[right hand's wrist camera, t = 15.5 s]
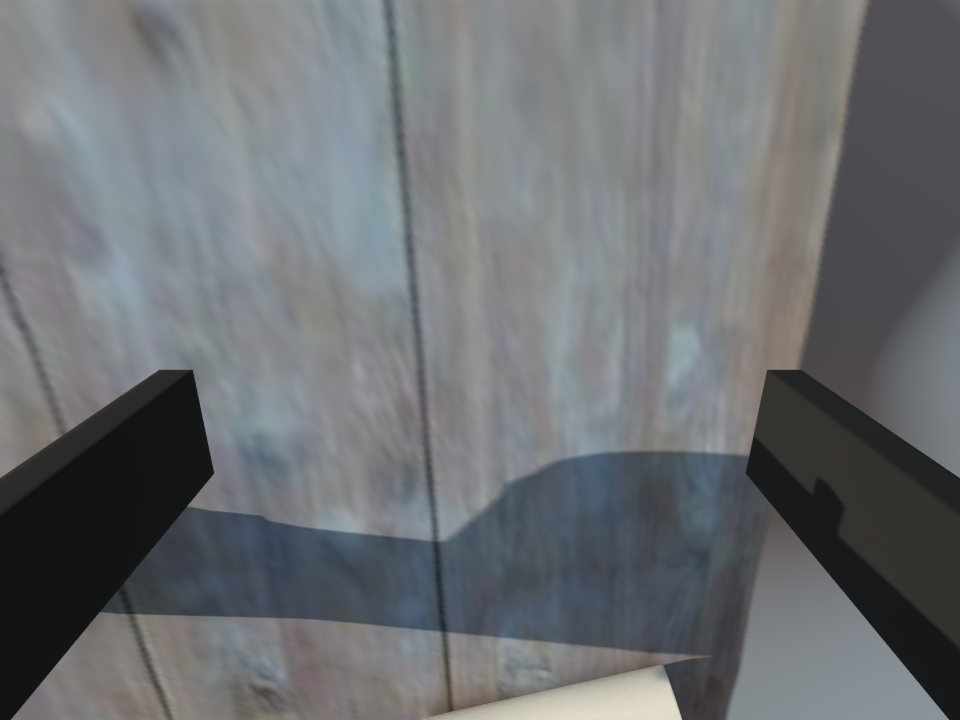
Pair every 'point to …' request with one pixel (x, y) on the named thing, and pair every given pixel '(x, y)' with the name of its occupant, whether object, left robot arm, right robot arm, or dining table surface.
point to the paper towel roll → (586, 701)
